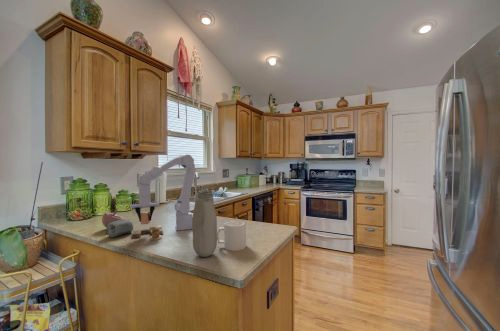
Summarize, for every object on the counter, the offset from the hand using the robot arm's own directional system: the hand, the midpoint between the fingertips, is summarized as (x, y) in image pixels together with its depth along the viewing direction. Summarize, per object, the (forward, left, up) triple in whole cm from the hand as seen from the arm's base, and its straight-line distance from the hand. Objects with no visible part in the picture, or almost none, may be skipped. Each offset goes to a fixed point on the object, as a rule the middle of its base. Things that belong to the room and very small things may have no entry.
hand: (145, 220), depth 129 cm
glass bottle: (-24, +41, -8) cm, 48 cm away
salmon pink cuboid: (0, 0, -1) cm, 1 cm away
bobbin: (-5, +8, -8) cm, 12 cm away
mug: (-38, +36, -8) cm, 53 cm away
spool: (+13, -7, -8) cm, 17 cm away
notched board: (-1, -1, -8) cm, 8 cm away
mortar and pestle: (+18, -22, -8) cm, 29 cm away
